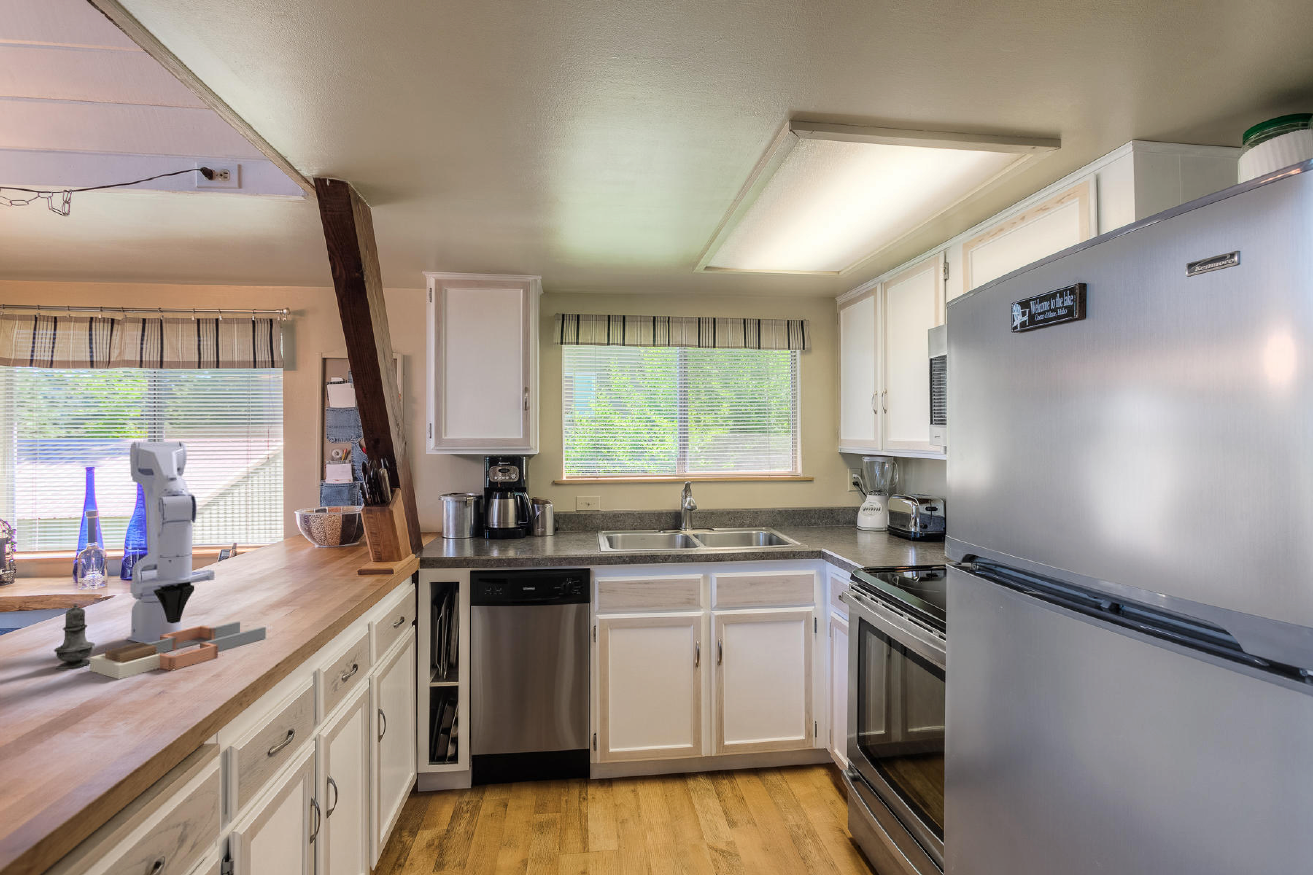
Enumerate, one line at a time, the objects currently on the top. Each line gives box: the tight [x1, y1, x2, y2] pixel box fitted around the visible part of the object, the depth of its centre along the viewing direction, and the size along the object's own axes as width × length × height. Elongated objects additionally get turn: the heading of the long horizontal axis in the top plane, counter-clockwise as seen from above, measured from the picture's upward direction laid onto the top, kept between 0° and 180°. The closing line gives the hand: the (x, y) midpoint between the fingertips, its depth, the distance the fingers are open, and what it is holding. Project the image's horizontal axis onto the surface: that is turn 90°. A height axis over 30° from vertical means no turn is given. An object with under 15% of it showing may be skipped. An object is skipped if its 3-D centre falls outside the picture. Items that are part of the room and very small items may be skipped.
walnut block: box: [104, 642, 156, 663], centre depth 124 cm, size 5×6×4 cm
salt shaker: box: [53, 603, 96, 671], centre depth 126 cm, size 6×6×12 cm
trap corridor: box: [89, 621, 267, 680], centre depth 133 cm, size 17×28×2 cm, turn 155°
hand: (173, 621), depth 132 cm, fingers closed
